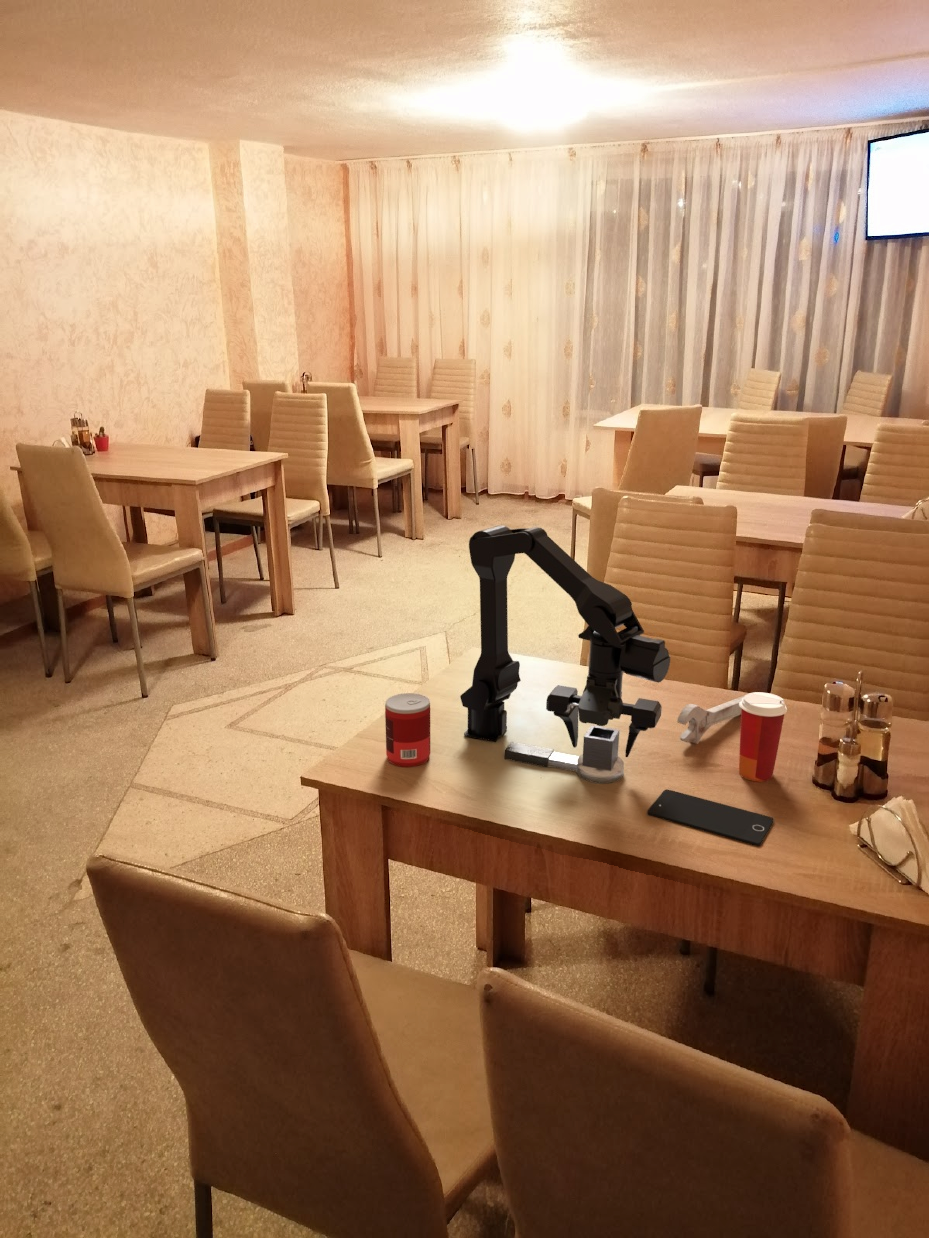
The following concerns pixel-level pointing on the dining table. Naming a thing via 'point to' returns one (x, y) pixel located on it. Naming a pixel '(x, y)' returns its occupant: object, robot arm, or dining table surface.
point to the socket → (600, 747)
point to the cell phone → (711, 817)
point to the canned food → (407, 729)
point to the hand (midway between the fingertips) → (600, 751)
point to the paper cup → (760, 734)
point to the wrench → (705, 718)
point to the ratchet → (562, 762)
